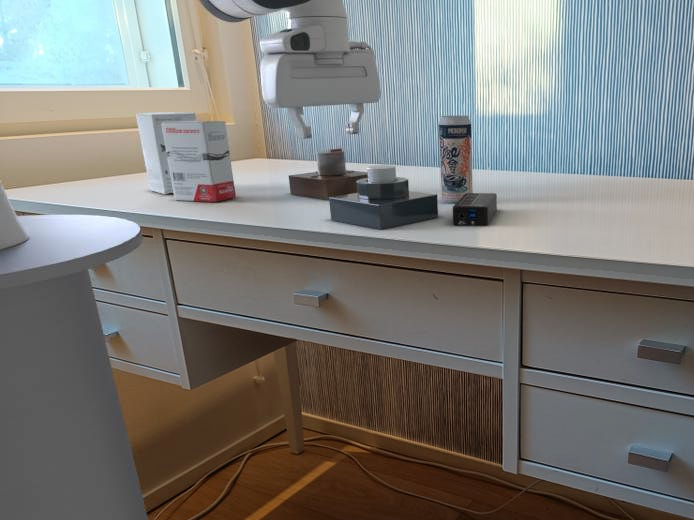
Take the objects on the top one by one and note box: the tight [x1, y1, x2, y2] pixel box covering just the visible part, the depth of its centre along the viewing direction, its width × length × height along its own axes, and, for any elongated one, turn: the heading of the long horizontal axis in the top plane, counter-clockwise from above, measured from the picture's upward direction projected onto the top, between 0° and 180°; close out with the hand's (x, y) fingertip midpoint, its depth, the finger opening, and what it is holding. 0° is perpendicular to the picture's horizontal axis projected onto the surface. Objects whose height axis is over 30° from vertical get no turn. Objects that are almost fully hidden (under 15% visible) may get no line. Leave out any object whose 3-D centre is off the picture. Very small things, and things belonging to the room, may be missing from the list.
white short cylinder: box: [366, 164, 397, 182], centre depth 88 cm, size 4×4×2 cm
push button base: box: [328, 176, 439, 230], centre depth 89 cm, size 10×10×5 cm
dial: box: [315, 148, 347, 176], centre depth 110 cm, size 4×4×4 cm
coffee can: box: [438, 115, 474, 204], centre depth 100 cm, size 5×5×12 cm
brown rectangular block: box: [288, 169, 368, 201], centre depth 112 cm, size 10×10×3 cm
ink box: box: [161, 120, 237, 203], centre depth 106 cm, size 8×5×12 cm, turn 68°
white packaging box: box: [135, 111, 197, 195], centre depth 116 cm, size 7×7×13 cm
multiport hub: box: [452, 192, 498, 227], centre depth 90 cm, size 4×11×2 cm, turn 172°
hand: (329, 136), depth 109 cm, fingers open, 8 cm apart
